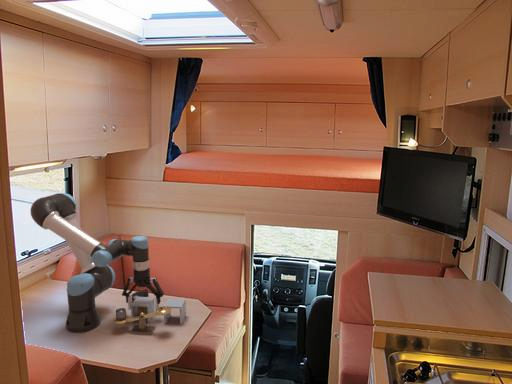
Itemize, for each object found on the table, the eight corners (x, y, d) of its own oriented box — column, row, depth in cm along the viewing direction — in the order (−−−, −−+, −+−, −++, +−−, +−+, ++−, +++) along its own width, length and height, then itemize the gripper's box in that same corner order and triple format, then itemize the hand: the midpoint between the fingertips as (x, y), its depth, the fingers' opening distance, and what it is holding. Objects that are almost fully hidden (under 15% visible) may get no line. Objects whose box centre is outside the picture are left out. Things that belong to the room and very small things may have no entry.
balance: (111, 333, 184) (110, 311, 182) (117, 325, 191) (116, 303, 189) (169, 336, 182) (168, 314, 180) (173, 328, 189) (172, 306, 187)
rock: (135, 308, 208) (134, 297, 207) (130, 300, 217) (129, 290, 216) (152, 304, 213) (152, 294, 212) (146, 297, 222) (146, 287, 220)
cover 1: (131, 321, 195) (130, 304, 193) (138, 313, 203) (137, 296, 202) (149, 322, 194) (148, 305, 192) (154, 314, 203) (154, 297, 201)
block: (137, 319, 197) (136, 306, 195) (140, 315, 201) (140, 302, 200) (146, 320, 196) (145, 307, 195) (149, 315, 201) (148, 302, 199)
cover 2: (164, 323, 194) (163, 306, 192) (169, 314, 202) (168, 298, 200) (181, 324, 193) (181, 307, 191) (186, 315, 202) (185, 298, 200)
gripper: (113, 270, 191) (116, 311, 195) (164, 271, 189) (166, 313, 193) (119, 264, 198) (122, 304, 202) (169, 266, 197) (170, 306, 200)
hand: (143, 309), depth 198 cm, fingers open, 13 cm apart
